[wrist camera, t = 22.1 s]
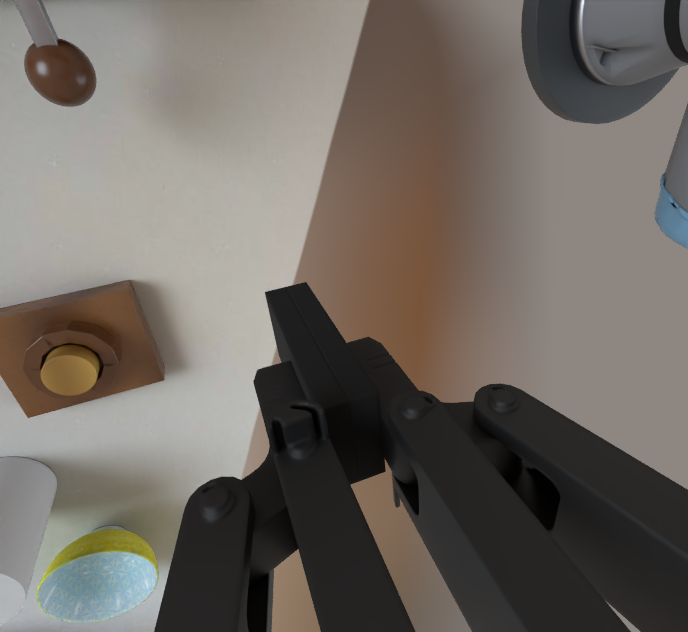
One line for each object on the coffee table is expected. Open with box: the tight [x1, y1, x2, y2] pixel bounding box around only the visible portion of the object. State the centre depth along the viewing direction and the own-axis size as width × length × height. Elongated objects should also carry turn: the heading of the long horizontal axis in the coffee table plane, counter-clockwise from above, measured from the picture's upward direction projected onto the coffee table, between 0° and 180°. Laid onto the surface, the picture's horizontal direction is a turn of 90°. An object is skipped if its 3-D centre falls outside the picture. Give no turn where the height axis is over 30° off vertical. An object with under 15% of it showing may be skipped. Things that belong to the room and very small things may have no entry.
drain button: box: [41, 345, 100, 396], centre depth 36 cm, size 4×4×2 cm
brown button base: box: [0, 280, 165, 418], centre depth 38 cm, size 12×10×4 cm
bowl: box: [37, 526, 158, 623], centre depth 49 cm, size 11×12×6 cm
